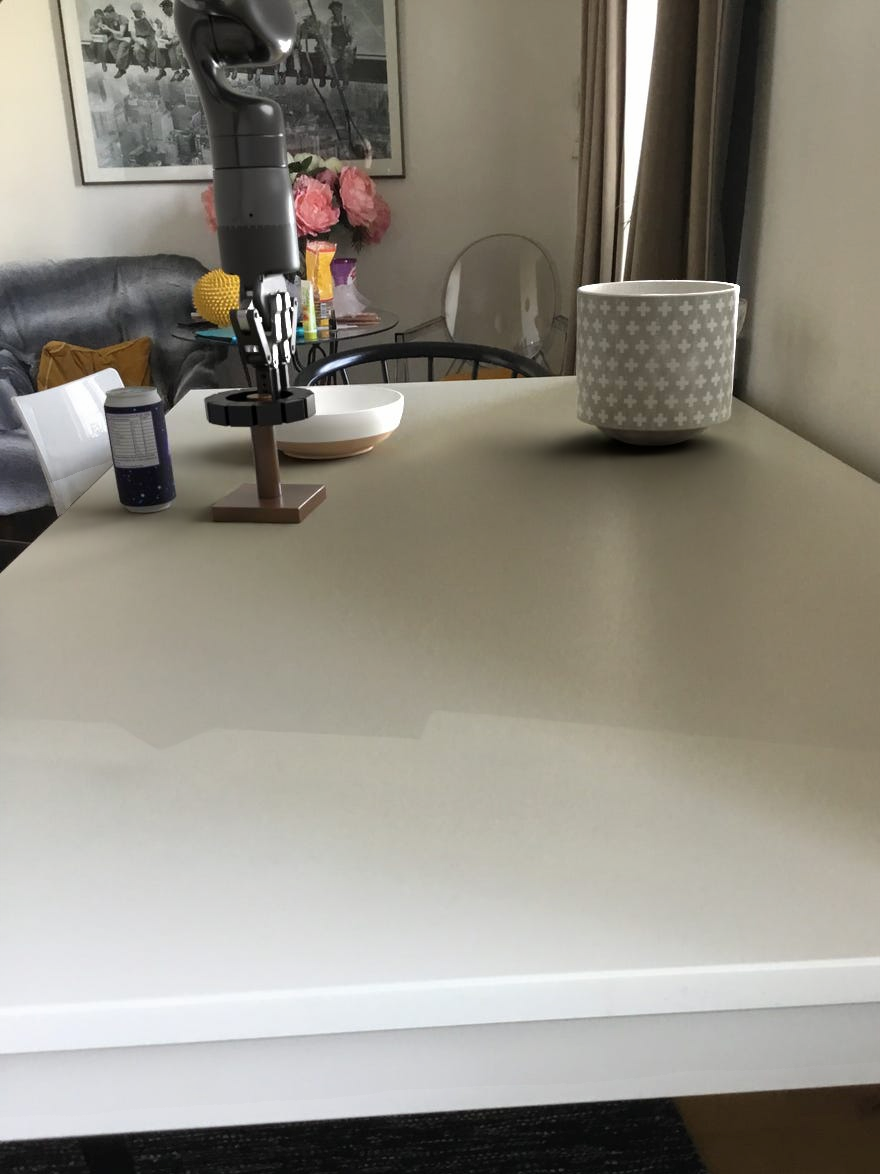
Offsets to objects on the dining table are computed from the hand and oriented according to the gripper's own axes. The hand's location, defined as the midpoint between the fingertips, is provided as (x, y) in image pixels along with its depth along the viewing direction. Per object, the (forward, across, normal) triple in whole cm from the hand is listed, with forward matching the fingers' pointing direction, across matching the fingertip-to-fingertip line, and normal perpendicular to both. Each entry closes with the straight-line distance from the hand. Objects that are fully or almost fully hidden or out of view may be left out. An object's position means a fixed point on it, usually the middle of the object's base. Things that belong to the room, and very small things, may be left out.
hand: (275, 402), depth 107 cm
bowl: (+10, +23, +2) cm, 25 cm away
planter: (+10, +30, -38) cm, 49 cm away
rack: (+10, -4, 0) cm, 11 cm away
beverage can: (+10, -4, +13) cm, 17 cm away
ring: (+1, -4, 0) cm, 4 cm away
